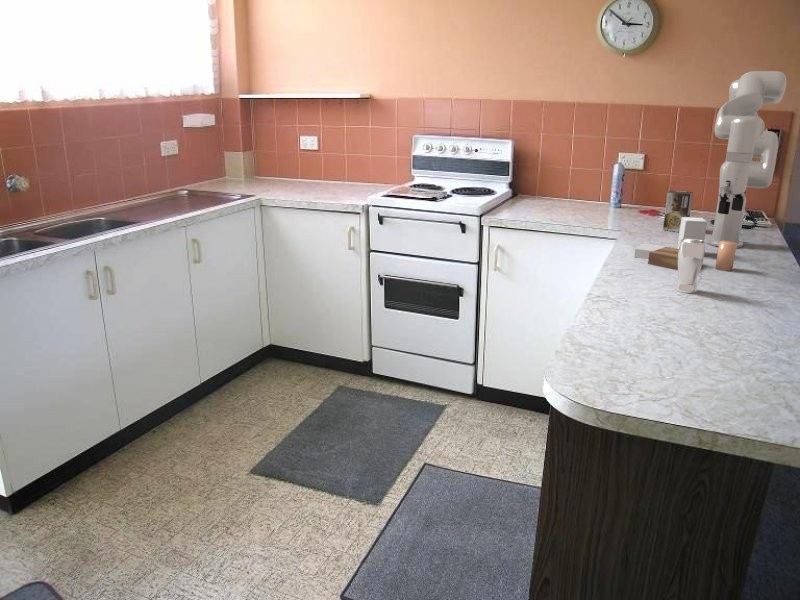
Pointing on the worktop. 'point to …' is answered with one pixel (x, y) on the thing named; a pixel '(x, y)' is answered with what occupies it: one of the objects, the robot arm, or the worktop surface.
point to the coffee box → (677, 209)
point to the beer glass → (689, 264)
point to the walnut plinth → (664, 258)
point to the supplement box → (692, 229)
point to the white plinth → (646, 250)
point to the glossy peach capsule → (726, 255)
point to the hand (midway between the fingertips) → (729, 212)
